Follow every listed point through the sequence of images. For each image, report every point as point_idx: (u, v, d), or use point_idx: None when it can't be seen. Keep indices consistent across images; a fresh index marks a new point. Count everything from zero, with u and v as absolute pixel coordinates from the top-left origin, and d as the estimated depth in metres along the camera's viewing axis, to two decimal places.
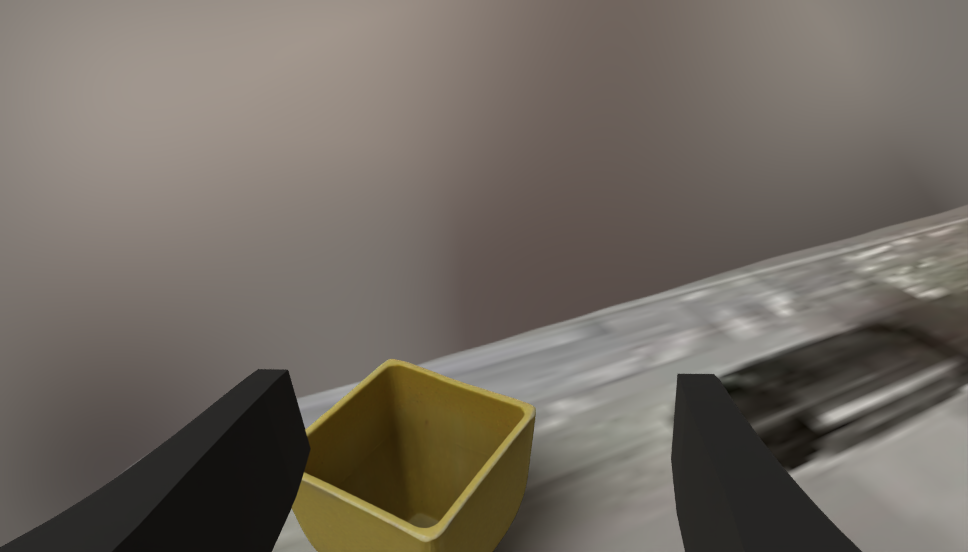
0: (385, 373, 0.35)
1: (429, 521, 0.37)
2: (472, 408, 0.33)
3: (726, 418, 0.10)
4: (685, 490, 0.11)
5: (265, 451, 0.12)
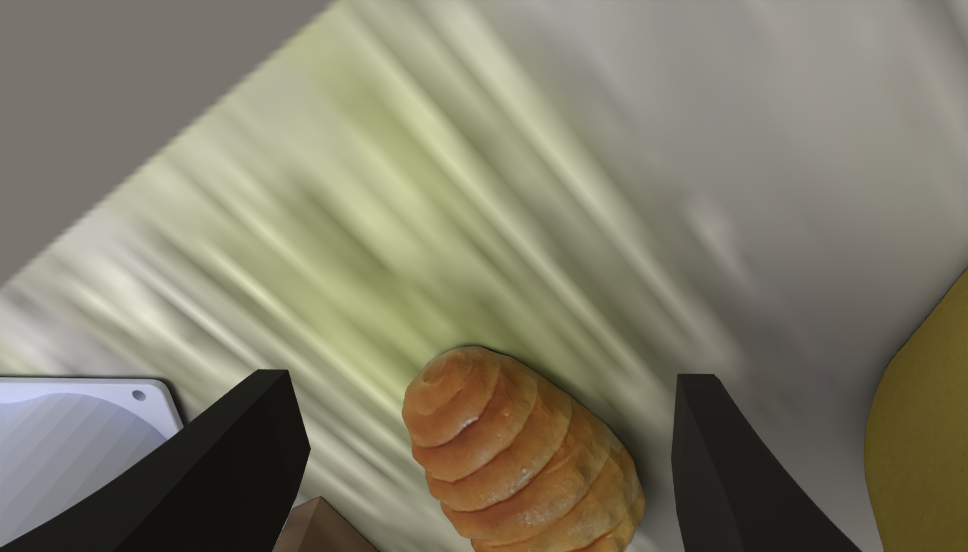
0: None
1: None
2: None
3: (726, 418, 0.10)
4: (685, 490, 0.11)
5: (265, 451, 0.12)
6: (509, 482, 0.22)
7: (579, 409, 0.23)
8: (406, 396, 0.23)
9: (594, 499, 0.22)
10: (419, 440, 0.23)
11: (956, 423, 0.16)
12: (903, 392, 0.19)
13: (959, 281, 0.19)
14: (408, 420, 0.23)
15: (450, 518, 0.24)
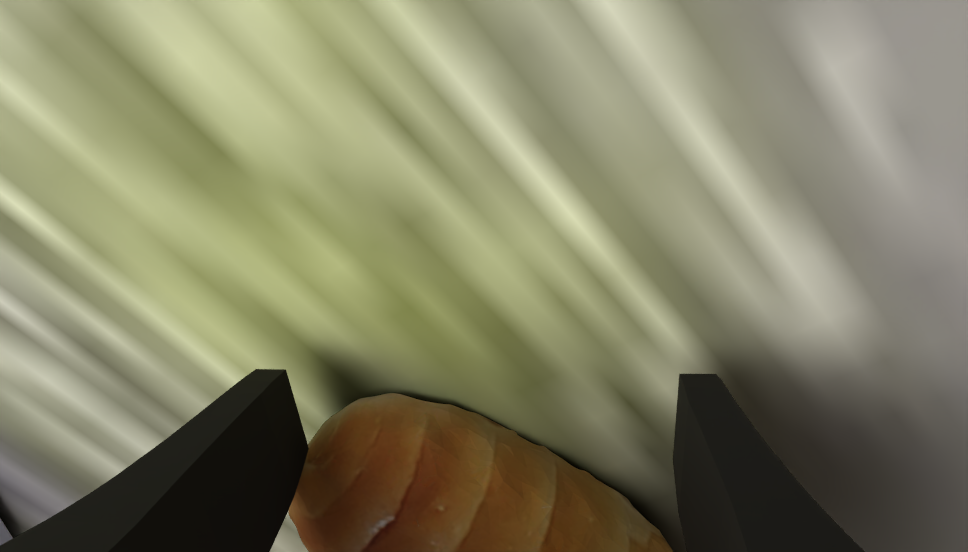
0: None
1: None
2: None
3: (728, 418, 0.10)
4: (687, 490, 0.11)
5: (263, 451, 0.12)
6: None
7: (571, 479, 0.14)
8: None
9: None
10: None
11: None
12: None
13: None
14: (295, 525, 0.14)
15: None
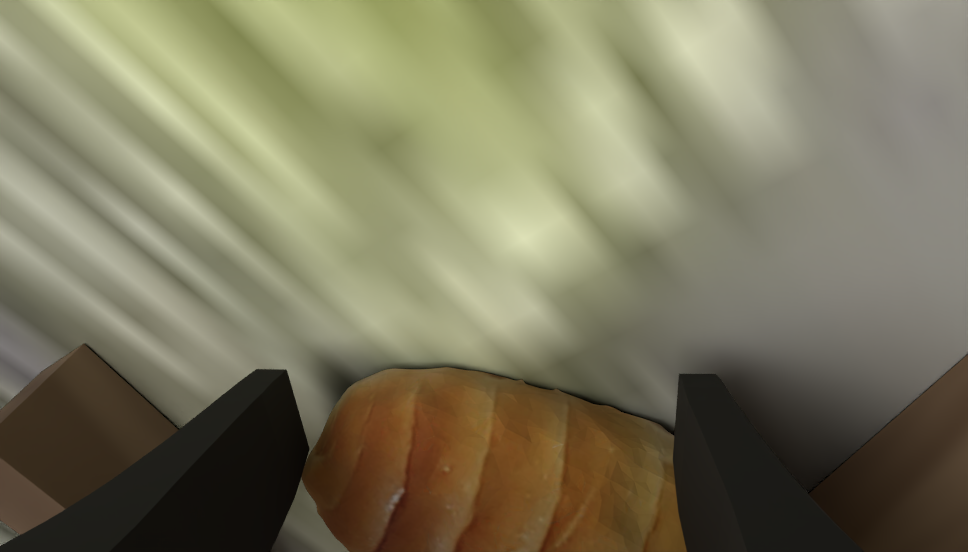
0: None
1: None
2: None
3: (728, 418, 0.10)
4: (687, 490, 0.11)
5: (263, 451, 0.12)
6: None
7: (586, 415, 0.13)
8: (305, 486, 0.14)
9: None
10: (351, 549, 0.14)
11: None
12: None
13: None
14: None
15: None
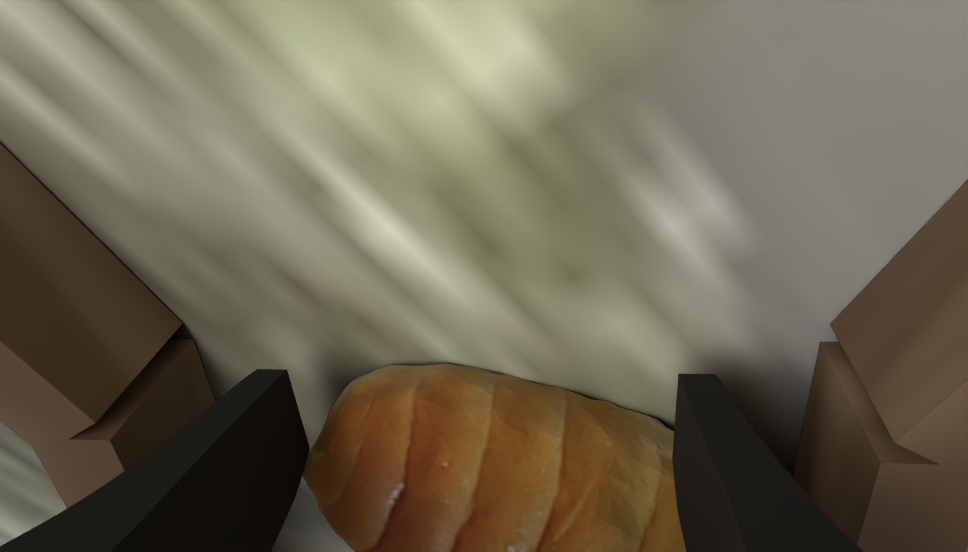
0: None
1: None
2: None
3: (727, 418, 0.10)
4: (686, 490, 0.11)
5: (264, 451, 0.12)
6: None
7: (584, 410, 0.13)
8: (306, 481, 0.14)
9: None
10: (351, 544, 0.14)
11: None
12: None
13: None
14: (325, 517, 0.14)
15: None
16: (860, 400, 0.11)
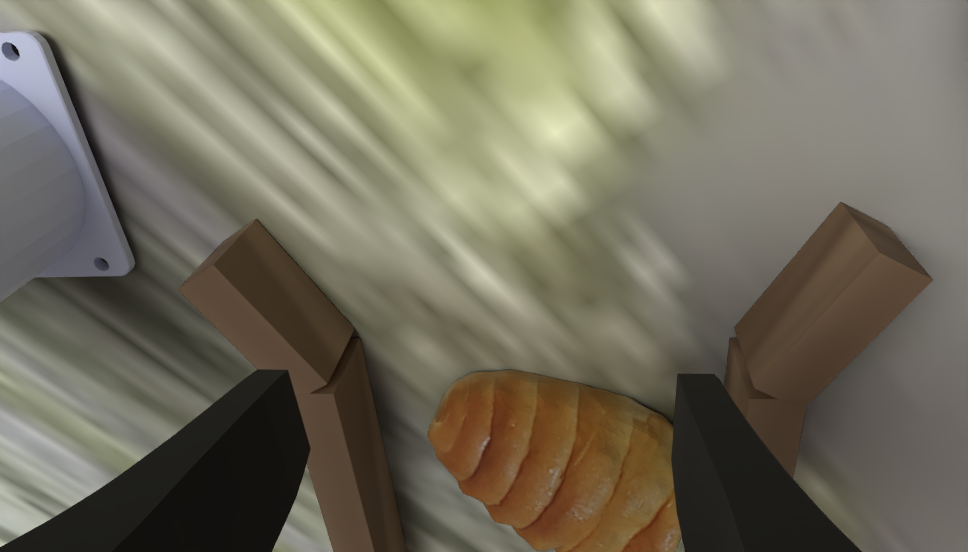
0: None
1: None
2: None
3: (726, 418, 0.10)
4: (685, 490, 0.11)
5: (265, 451, 0.12)
6: (543, 487, 0.22)
7: (589, 394, 0.23)
8: (429, 440, 0.24)
9: (633, 474, 0.22)
10: (457, 476, 0.24)
11: None
12: None
13: None
14: (441, 461, 0.24)
15: (523, 537, 0.25)
16: (745, 368, 0.21)
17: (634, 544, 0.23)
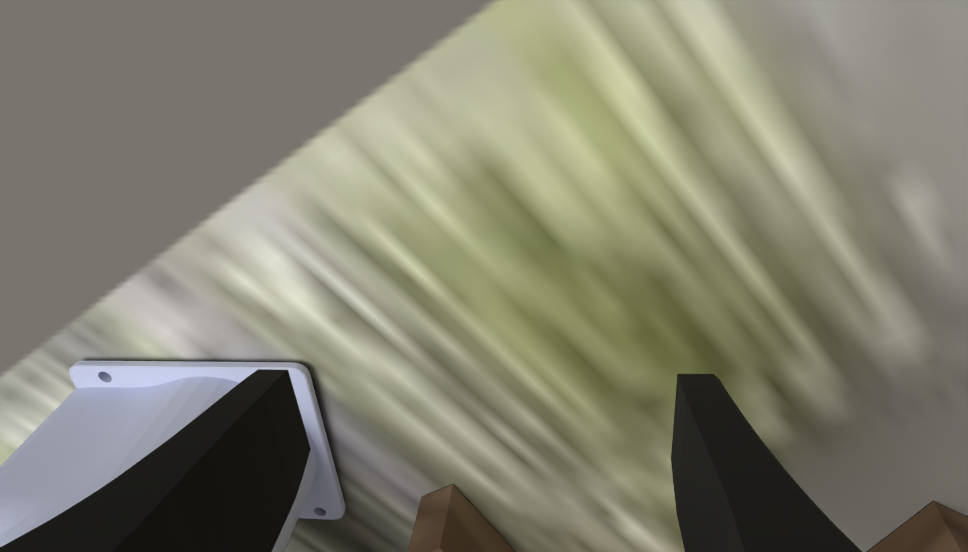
0: None
1: None
2: None
3: (726, 418, 0.10)
4: (685, 490, 0.11)
5: (265, 451, 0.12)
6: None
7: None
8: None
9: None
10: None
11: None
12: None
13: None
14: None
15: None
16: None
17: None
